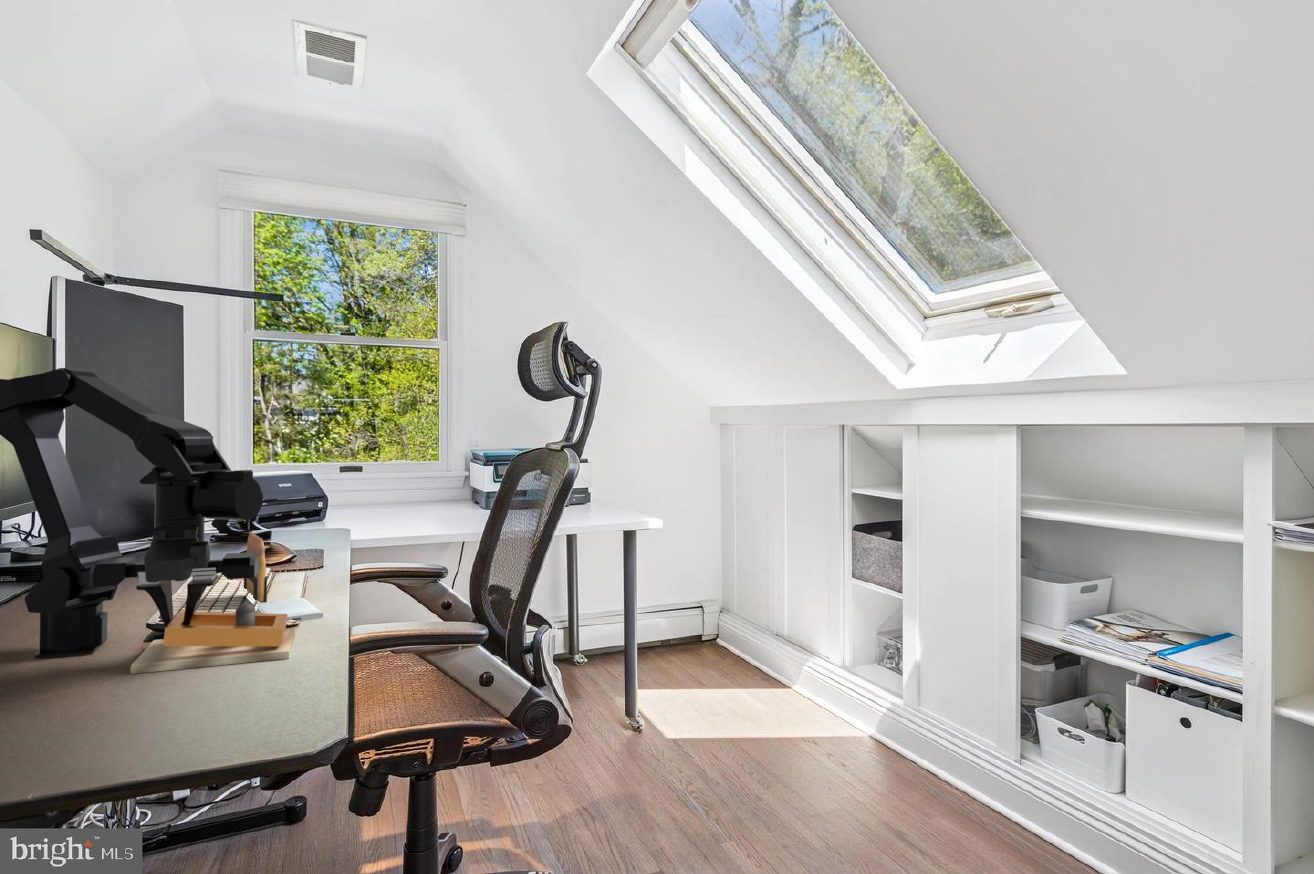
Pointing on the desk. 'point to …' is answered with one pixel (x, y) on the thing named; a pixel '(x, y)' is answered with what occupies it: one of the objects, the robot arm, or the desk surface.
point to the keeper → (212, 650)
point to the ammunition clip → (259, 582)
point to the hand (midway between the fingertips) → (178, 630)
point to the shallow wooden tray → (225, 630)
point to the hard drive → (291, 609)
